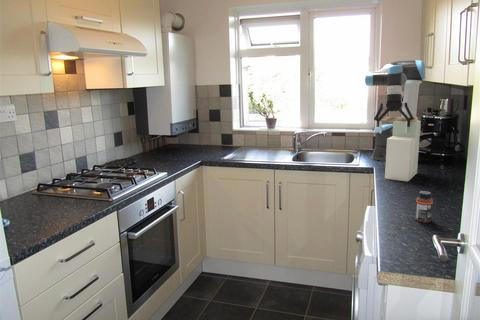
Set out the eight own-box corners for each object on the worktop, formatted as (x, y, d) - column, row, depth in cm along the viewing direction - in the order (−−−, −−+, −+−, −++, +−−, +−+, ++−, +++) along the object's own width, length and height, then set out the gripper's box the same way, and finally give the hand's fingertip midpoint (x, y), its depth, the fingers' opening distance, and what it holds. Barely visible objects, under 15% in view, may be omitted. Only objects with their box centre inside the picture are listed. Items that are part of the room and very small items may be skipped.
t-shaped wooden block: (379, 120, 233) (380, 116, 232) (382, 119, 237) (383, 115, 237) (415, 122, 222) (415, 118, 222) (417, 121, 227) (418, 117, 226)
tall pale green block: (384, 178, 223) (387, 123, 217) (395, 170, 241) (398, 119, 235) (407, 181, 217) (411, 124, 211) (416, 173, 234) (420, 120, 228)
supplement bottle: (418, 216, 162) (420, 189, 160) (434, 220, 158) (436, 192, 156) (411, 220, 158) (414, 192, 156) (427, 224, 154) (429, 195, 152)
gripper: (369, 94, 227) (368, 132, 228) (418, 92, 214) (416, 132, 215) (372, 96, 233) (371, 133, 234) (420, 93, 220) (418, 133, 221)
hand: (393, 133), depth 225 cm, fingers open, 13 cm apart
